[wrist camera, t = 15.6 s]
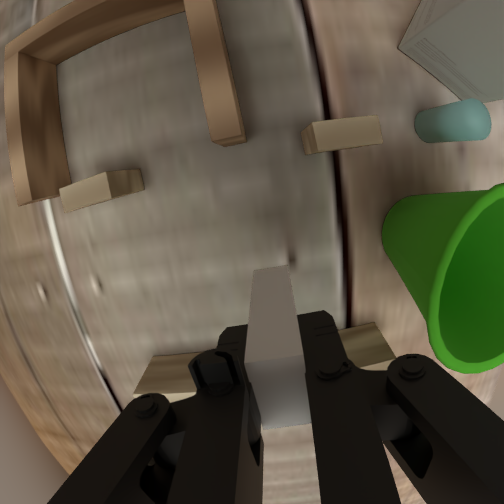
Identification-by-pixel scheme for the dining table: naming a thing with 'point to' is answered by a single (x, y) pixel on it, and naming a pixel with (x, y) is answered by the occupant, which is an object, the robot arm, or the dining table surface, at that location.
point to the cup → (454, 271)
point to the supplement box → (460, 45)
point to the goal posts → (454, 122)
